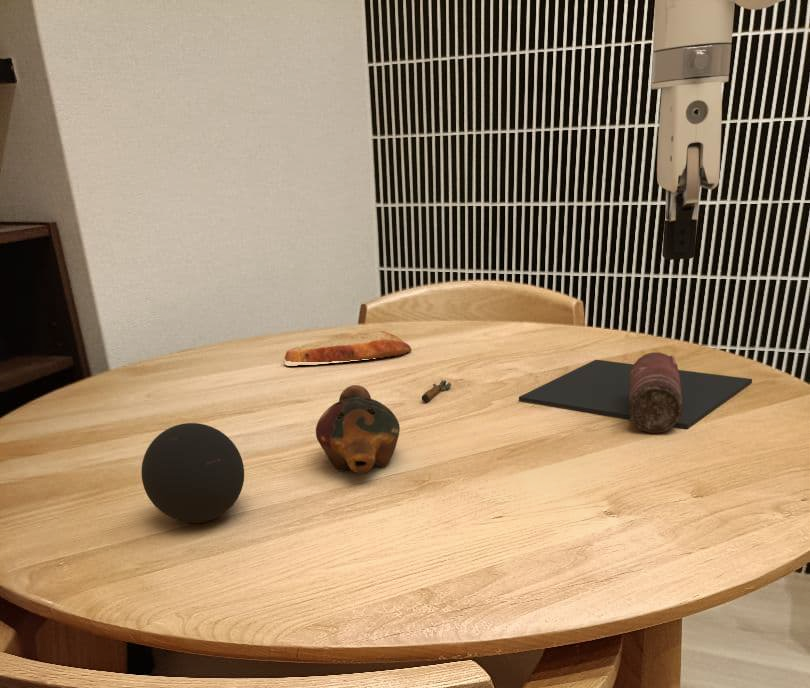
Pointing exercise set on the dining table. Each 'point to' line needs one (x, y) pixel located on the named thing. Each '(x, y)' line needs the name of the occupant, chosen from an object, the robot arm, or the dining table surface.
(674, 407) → the can
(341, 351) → the bread slice
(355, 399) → the decorative turtle
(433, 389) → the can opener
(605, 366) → the mat
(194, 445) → the speaker
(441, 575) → the dining table surface
